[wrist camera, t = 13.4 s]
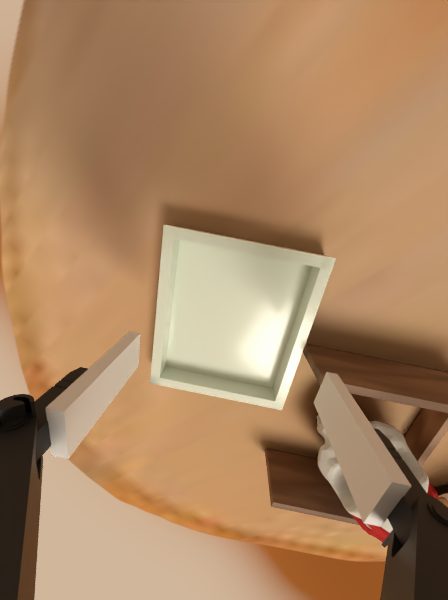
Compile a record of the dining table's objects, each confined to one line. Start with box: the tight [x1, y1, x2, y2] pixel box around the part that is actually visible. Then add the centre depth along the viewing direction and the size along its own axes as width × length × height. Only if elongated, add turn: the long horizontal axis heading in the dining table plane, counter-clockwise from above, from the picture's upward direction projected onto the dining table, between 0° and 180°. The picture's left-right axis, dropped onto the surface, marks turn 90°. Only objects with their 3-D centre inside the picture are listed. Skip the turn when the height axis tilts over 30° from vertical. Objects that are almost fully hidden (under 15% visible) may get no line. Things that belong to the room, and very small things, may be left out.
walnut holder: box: [265, 344, 448, 525], centre depth 23 cm, size 18×17×6 cm
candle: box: [317, 416, 439, 545], centre depth 22 cm, size 9×11×15 cm
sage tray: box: [150, 225, 336, 410], centre depth 22 cm, size 17×15×3 cm
